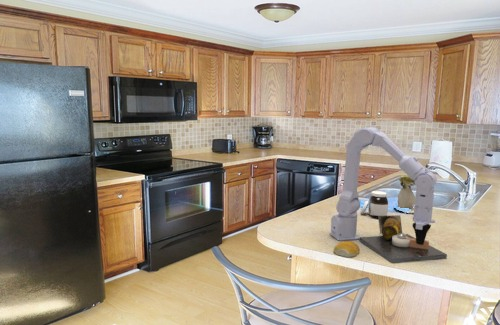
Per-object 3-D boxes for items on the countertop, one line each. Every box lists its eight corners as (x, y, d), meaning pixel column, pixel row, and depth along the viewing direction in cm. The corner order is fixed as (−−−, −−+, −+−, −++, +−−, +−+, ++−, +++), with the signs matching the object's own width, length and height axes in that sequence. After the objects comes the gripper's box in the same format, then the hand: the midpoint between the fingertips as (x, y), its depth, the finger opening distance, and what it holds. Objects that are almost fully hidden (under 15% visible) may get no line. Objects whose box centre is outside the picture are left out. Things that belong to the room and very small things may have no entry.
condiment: (402, 233, 148) (399, 242, 137) (380, 233, 152) (375, 242, 141) (400, 215, 148) (397, 223, 137) (378, 215, 151) (373, 223, 141)
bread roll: (362, 252, 132) (363, 241, 132) (352, 259, 125) (353, 248, 125) (340, 246, 137) (341, 236, 137) (329, 253, 130) (330, 242, 130)
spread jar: (389, 219, 172) (391, 195, 170) (364, 219, 172) (366, 194, 171) (380, 212, 184) (382, 189, 182) (357, 212, 184) (359, 189, 182)
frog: (393, 212, 185) (396, 176, 182) (393, 206, 197) (396, 172, 194) (420, 215, 181) (423, 178, 178) (418, 209, 193) (421, 174, 190)
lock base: (392, 263, 123) (393, 246, 122) (359, 241, 143) (360, 226, 142) (446, 258, 128) (448, 242, 127) (407, 237, 148) (408, 224, 147)
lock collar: (391, 245, 133) (392, 239, 133) (392, 240, 139) (392, 234, 139) (428, 251, 129) (429, 244, 129) (427, 245, 134) (428, 238, 134)
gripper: (433, 212, 121) (429, 252, 123) (438, 204, 133) (434, 240, 135) (410, 209, 125) (407, 248, 127) (417, 201, 137) (413, 236, 139)
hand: (419, 244), depth 131 cm, fingers closed, pressing on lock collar
